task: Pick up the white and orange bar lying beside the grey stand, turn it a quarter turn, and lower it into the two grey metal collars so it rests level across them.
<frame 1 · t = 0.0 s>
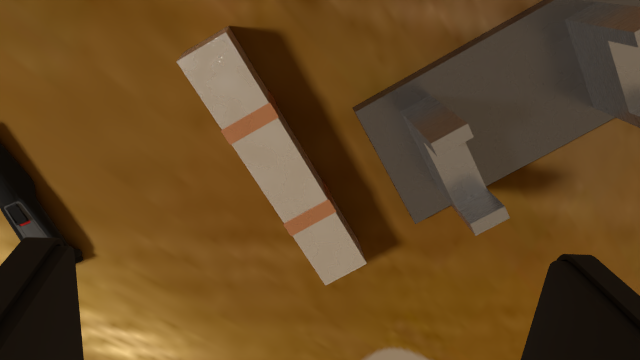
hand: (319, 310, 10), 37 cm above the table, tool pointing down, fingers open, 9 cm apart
white and orange bar: (279, 154, 48), on the table
grey stand: (506, 97, 49), on the table
electric trimmer: (26, 199, 48), on the table
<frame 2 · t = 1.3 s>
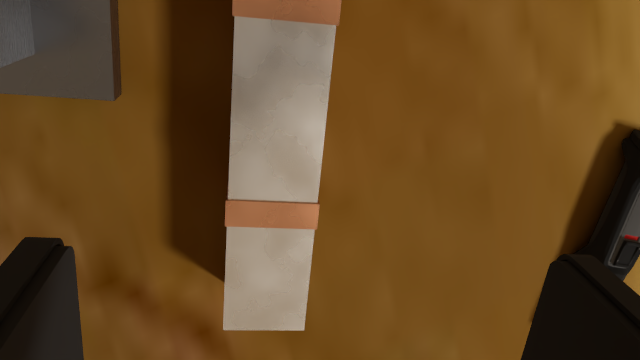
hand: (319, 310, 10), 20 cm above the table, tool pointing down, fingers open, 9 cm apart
white and orange bar: (275, 95, 28), on the table
electric trimmer: (598, 236, 35), on the table
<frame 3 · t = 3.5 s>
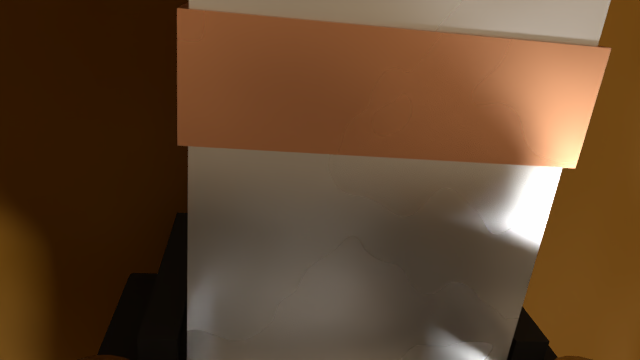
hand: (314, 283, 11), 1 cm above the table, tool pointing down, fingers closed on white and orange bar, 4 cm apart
white and orange bar: (312, 268, 12), on the table, touching gripper
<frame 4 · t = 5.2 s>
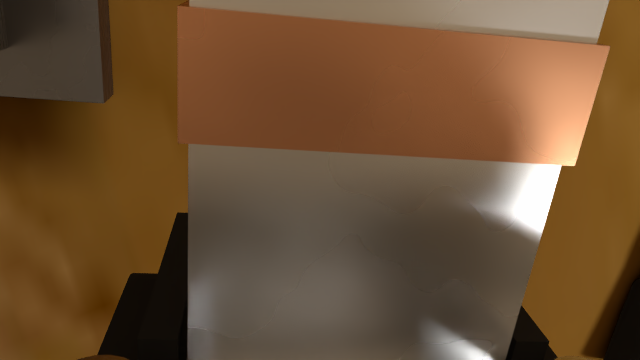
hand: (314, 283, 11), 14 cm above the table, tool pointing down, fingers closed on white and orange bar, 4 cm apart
white and orange bar: (312, 266, 12), point 14 cm above the table, touching gripper
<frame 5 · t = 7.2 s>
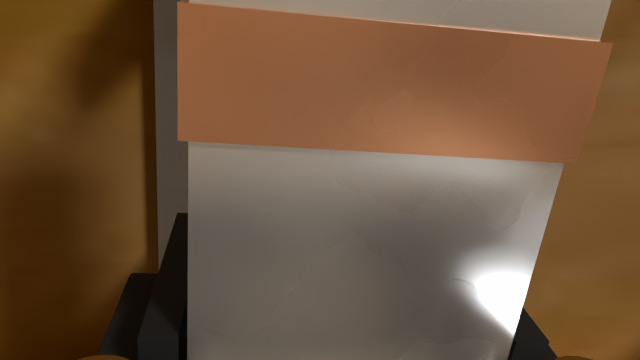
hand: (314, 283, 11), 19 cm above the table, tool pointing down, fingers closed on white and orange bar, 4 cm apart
white and orange bar: (312, 266, 12), point 18 cm above the table, touching gripper
grey stand: (283, 89, 29), on the table
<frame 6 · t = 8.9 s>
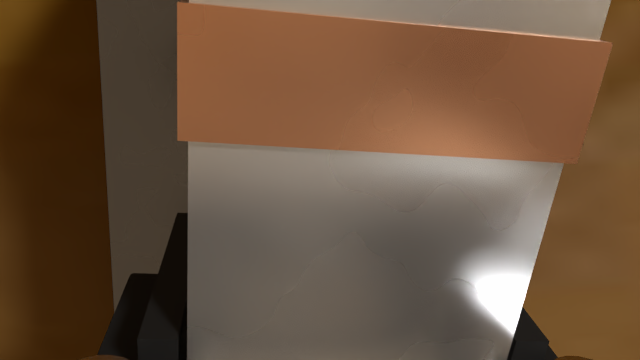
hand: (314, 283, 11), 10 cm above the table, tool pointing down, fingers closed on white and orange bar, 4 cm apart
white and orange bar: (312, 265, 12), point 9 cm above the table, touching gripper
grey stand: (293, 142, 20), on the table
when the fingers open (9 cm above the table, at t = 9.3 s): white and orange bar drops 1 cm, resting on grey stand.
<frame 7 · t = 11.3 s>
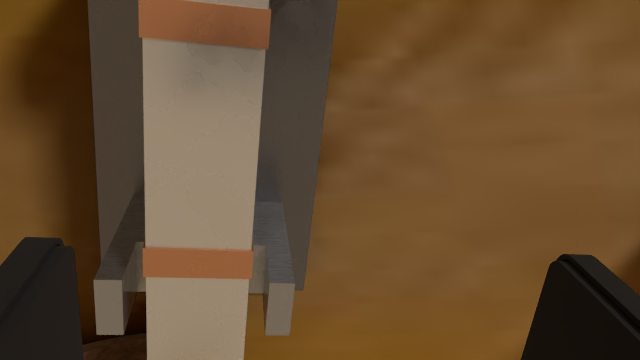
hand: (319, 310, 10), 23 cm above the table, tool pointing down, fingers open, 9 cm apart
white and orange bar: (208, 121, 25), point 7 cm above the table, touching grey stand
grey stand: (214, 89, 31), on the table
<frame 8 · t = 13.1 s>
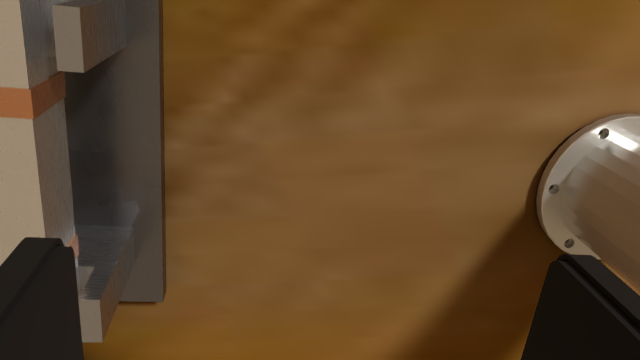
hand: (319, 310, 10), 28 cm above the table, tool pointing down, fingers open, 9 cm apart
white and orange bar: (30, 166, 30), point 7 cm above the table, touching grey stand
grey stand: (68, 131, 37), on the table
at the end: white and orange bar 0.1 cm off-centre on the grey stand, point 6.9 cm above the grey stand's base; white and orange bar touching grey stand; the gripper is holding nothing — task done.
